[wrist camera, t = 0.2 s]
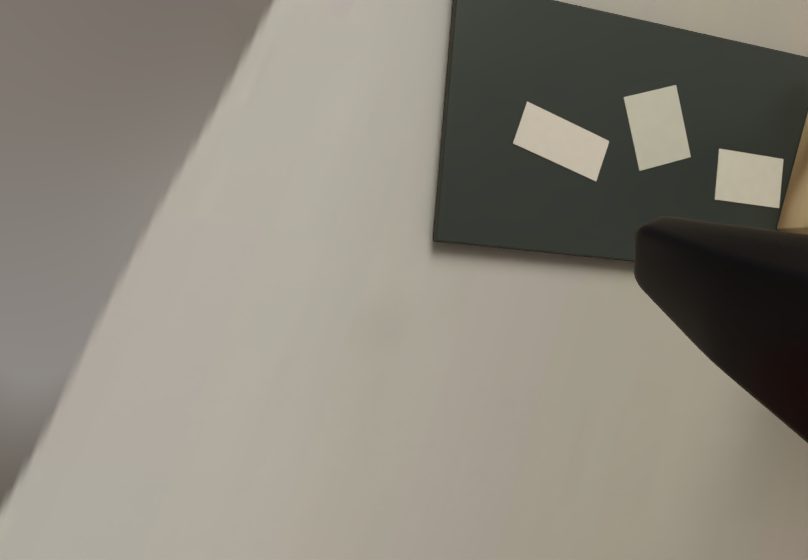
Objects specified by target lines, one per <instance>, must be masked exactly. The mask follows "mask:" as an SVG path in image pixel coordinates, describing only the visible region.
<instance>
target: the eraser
mask: <svg viewBox="0 0 808 560" xmlns="http://www.w3.org/2000/svg"><path fill="white" fill-rule="evenodd" d="M777 229H778V230H780V231H784V232H791V233H799V234H807V235H808V113H807V116H806V120H805V124H804V128H803V131H802V135H801V139H800V143H799V146H798V150H797V154H796V158H795V161H794V165H793V169H792V172H791V176H790V180H789V184H788V187H787V191H786V195H785V199H784V202H783V206H782V210H781V214H780V217H779V221H778V225H777Z"/></svg>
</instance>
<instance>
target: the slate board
mask: <svg viewBox="0 0 808 560" xmlns="http://www.w3.org/2000/svg"><path fill="white" fill-rule="evenodd" d="M807 113H808V57H804V56H800V55H795V54H791V53H787V52H782V51H778V50H773V49H769V48H764V47H760V46H755V45H751V44H746V43H742V42H737V41H733V40H729V39H724V38H720V37H715V36H711V35H706V34H702V33H697V32H693V31H688V30H684V29H680V28H675V27H671V26H666V25H662V24H657V23H653V22H648V21H644V20H639V19H635V18H630V17H626V16H622V15H617V14H613V13H608V12H604V11H599V10H595V9H590V8H586V7H581V6H577V5H572V4H568V3H564V2H559V1H555V0H453V8H452V20H451V31H450V43H449V55H448V67H447V79H446V91H445V103H444V115H443V127H442V139H441V151H440V163H439V175H438V187H437V199H436V211H435V222H434V234H433V241H437V242H447V243H457V244H467V245H477V246H487V247H497V248H507V249H517V250H527V251H537V252H547V253H557V254H567V255H577V256H587V257H597V258H607V259H617V260H627V261H634V235H635V232H636V230H637V229H638V228H639V227H640V226H642V225H643V224H645V223H647V222H649V221H651V220H653V219H654V218H656V217H659V216H670V217H677V218H685V219H692V220H700V221H708V222H715V223H723V224H730V225H738V226H746V227H753V228H761V229H769V230H776V231H780V230H778V229H777V225H778V221H779V217H780V214H781V210H782V206H783V202H784V199H785V195H786V191H787V187H788V184H789V180H790V176H791V172H792V169H793V165H794V161H795V158H796V154H797V150H798V146H799V143H800V139H801V135H802V131H803V128H804V124H805V120H806V116H807Z"/></svg>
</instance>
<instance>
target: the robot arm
mask: <svg viewBox="0 0 808 560" xmlns="http://www.w3.org/2000/svg"><path fill="white" fill-rule="evenodd" d="M634 275H635V278H636V280H637V283H638V284H639V286H640V287H641V288H642V290H643V291H644V292H645V293H646V294H647V295H648V296H649V297H650V298H651V299H652V300H653V301H654V302H655V303H656V304H657V305H658V306H659V307H660V308H661V310H662V311H663V312H664V313H665V314H666V315H667V316H668V317H669V318H670V319H671V320H672V321H673V322H674V323H675V324H676V325H677V326H678V327H679V328H680V329H681V330H682V331H683V332H684V333H685V335H686V336H687V337H688V338H689V339H690V340H691V341H692V342H693V343H694V344H695V345H696V346H697V347H698V348H699V349H700V350H701V351H702V352H703V353H704V354H705V355H706V356H707V357H708V358H709V359H710V360H711V361H712V362H713V363H715V364H716V365H717V366H718V367H719V368H720V369H721V370H722V371H723V372H725V373H726V374H727V375H728V376H729V377H731V378H732V379H733V380H734V381H735V382H736V383H738V384H739V385H740V386H741V387H742V388H743V389H745V390H746V391H747V392H748V393H749V394H751V395H752V396H753V397H754V398H755V399H756V400H758V401H759V402H760V403H761V404H762V405H764V406H765V407H766V408H767V409H768V410H769V411H771V412H772V413H773V414H774V415H775V416H776V417H778V418H779V419H780V420H781V421H782V422H784V423H785V424H786V425H787V426H788V427H789V428H791V429H792V430H793V431H794V432H795V433H797V434H798V435H799V436H800V437H801V438H802V439H804V440H805V441H806V442H807V443H808V235H807V234H799V233H791V232H784V231H776V230H769V229H761V228H753V227H746V226H738V225H730V224H723V223H715V222H708V221H700V220H692V219H685V218H677V217H670V216H659V217H656V218H654V219H653V220H651V221H649V222H647V223H645V224H643V225H642V226H640V227H639V228H638V229H637V230H636V232H635V235H634Z"/></svg>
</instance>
